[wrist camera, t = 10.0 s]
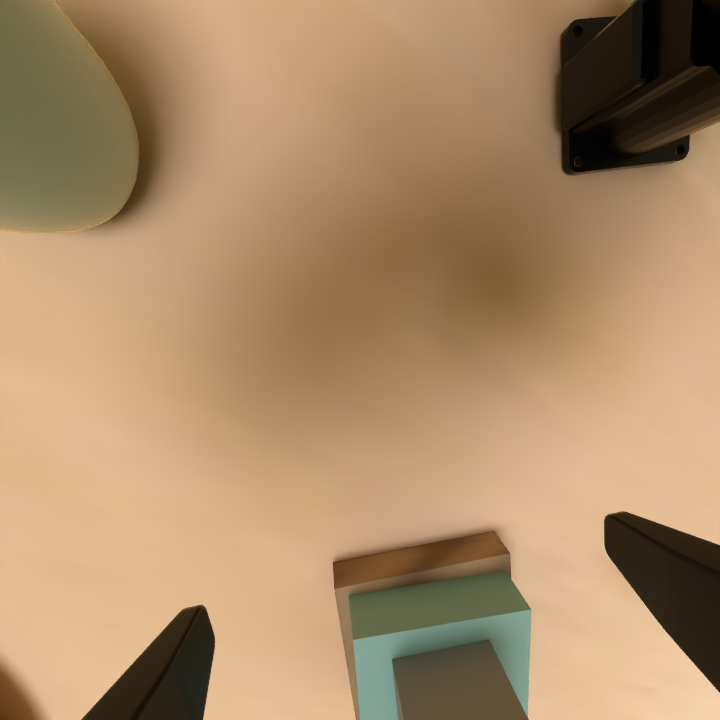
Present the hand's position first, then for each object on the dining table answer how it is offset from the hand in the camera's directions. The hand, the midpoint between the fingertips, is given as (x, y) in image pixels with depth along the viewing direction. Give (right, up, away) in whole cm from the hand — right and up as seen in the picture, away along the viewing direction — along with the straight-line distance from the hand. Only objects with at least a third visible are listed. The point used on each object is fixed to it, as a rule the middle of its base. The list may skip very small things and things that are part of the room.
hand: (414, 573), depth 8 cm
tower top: (+3, -12, +13) cm, 18 cm away
